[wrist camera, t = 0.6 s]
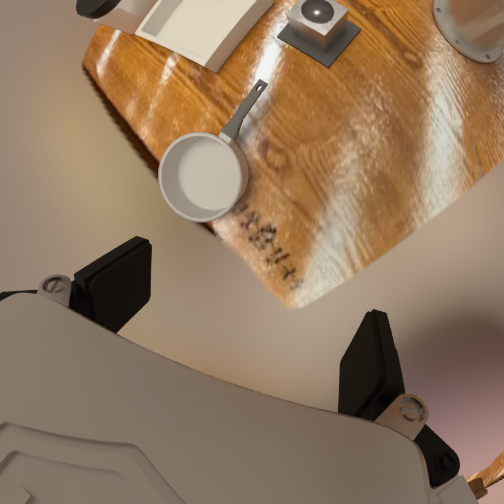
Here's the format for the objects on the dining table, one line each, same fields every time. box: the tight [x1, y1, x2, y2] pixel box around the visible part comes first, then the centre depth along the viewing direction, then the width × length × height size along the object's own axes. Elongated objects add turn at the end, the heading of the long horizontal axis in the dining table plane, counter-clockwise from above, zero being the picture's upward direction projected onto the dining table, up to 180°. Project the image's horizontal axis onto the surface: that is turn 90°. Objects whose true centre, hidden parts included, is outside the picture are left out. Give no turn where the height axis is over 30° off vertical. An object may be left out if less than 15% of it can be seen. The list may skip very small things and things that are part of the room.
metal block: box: [286, 0, 349, 53], centre depth 24 cm, size 5×5×7 cm
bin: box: [135, 0, 274, 73], centre depth 27 cm, size 14×14×4 cm
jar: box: [76, 0, 158, 35], centre depth 25 cm, size 9×8×12 cm
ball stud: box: [277, 20, 361, 68], centre depth 25 cm, size 8×8×4 cm
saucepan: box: [158, 79, 268, 222], centre depth 34 cm, size 12×20×6 cm, turn 144°
